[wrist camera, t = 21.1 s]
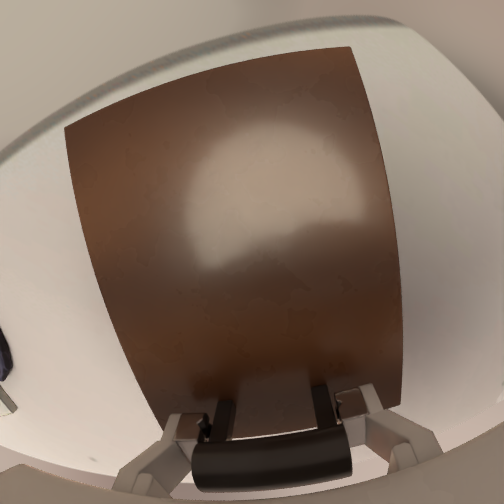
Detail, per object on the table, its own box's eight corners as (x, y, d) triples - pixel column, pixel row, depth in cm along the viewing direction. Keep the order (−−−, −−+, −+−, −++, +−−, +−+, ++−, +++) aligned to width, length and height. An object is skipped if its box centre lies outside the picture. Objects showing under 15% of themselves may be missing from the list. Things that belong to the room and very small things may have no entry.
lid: (395, 395, 12) (435, 473, 7) (171, 431, 13) (142, 509, 8) (345, 53, 9) (393, -24, 4) (73, 129, 10) (-19, 111, 5)
